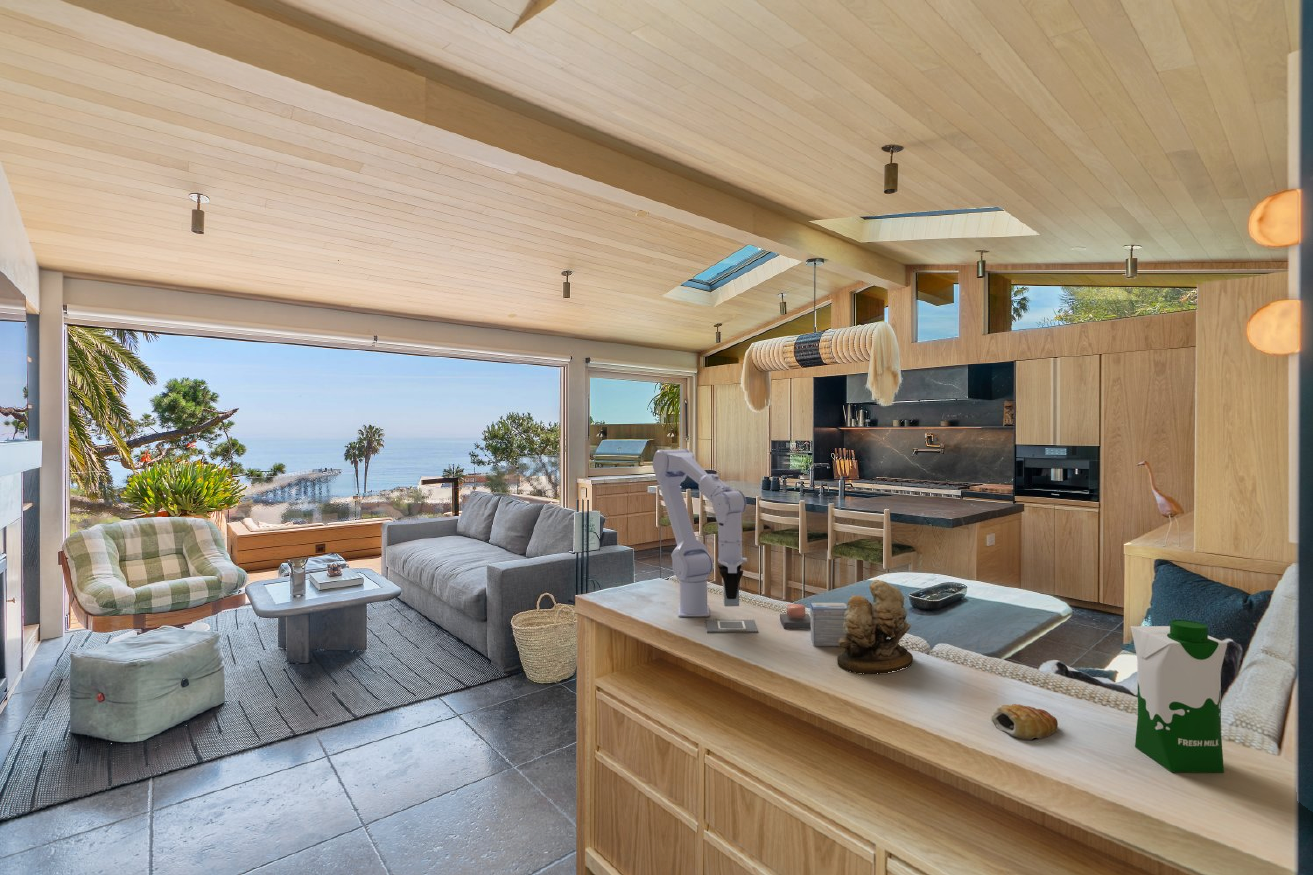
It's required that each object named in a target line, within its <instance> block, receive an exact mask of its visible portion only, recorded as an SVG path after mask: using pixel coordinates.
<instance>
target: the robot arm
mask: <svg viewBox="0 0 1313 875" xmlns="http://www.w3.org/2000/svg"><path fill="white" fill-rule="evenodd" d="M651 464H652V465H651V466H652V468H653V472H654V475H655V479H656V482H657V483H658V485H659V486H658V487H659V488H660V493H661V496H662V499H663V502H664V505H665V506H664V507H665V508H666V512H667V515H668V519H669V522H670V524H671V525H670V526H671V529H672V532H673V535H674V538H675V542H676V547H675V548H674V549H673V551H672V552H671V554H670V557H671V560H672V562H671V563H672V565H671V566H672V571H673V574H674V576H675V577H676V579H677V580H679V604H678V617H710V606H709V605H708V579H710V575H711V574H712V573H713V571H714V568H715V567H714V559H713V557H712V556H711V554H710V553H709V551H708V548H707V546H706V544H704V543H702V542H701V541H699V540H698V539H697V537H696V533H695V530H694V527H693V524H692V521H691V518H690V514H689V512H688V509H687V505H686V503H685V499H684V496H683V492H682V489H681V483H683V482H685V480H686V478H687V477H689V479H691V480H692V481H693V482H695V483H696V484H698V490H699V492H700V493H701V494H702V495H703V496H704V497H705V498H706V499H707V500H708V501H709V502H711V503H712V508H713V509H712V510H713V512H714V513H715V520H716V523H717V536H718V537H717V538H718V539H717V541H718V545H717V546H718V552H717V553H718V558H717V563H718V566H717V567H718V569H719V574H720V576H721V577H722V580H723V581H724V583H723V586H724V585H725V591H726V596H727V599H736V597H737V592H738V586H739V587H740V582H741V579H742V577H743V574H744V570H743V569H742V564H743V563H747V562H748V558H747V557H743V531H742V528H743V526H742V525H743V524H742V522H743V521H742V520H743V518H742V514H743V513H745V511H746V509H747V499H746V495H745V494H744V493H743V491H742V490H740V489H733V488H731V487H730V486H729V485H728V484H727V483H725V482H724V481H723V480H722V479H720V475H718V474H717V473H707V472H706V470H705V469H704V468H703V467H702V465H700V464H699V463H698V462H697V460H695V455H694V453H693V452H691V451H690V450H689V449H688V448H682V449H680V448H678V449H657V450H656V451H655V452H654V454H653V459H652V463H651Z"/></svg>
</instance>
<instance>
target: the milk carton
mask: <svg viewBox="0 0 1313 875" xmlns="http://www.w3.org/2000/svg"><path fill="white" fill-rule="evenodd" d="M1169 624H1170V625H1160V626H1159V625H1158V626H1157V625H1154V626H1152V625H1147V626H1146V625H1144V626H1141V625H1140V626H1138V625H1136V626H1135V625H1132V626H1131V625H1130V630H1131V635H1132V640H1133V644H1134V649H1135V654H1136V659H1137V662H1136V663H1137V664H1136V666H1137V667H1136V668H1137V670H1136V671H1137V672H1136V674H1137V676H1136V677H1137V722H1136V730H1135V731H1136V732H1135V743H1134V747H1135V748H1136V749H1137V750H1139V751H1140V752H1142V753H1143V754H1145V755H1146V756H1147V757H1149V758H1151V759H1152V760H1153V761H1155V762H1156V763H1157V764H1159V765H1160V766H1162V767H1164V768H1165V769H1166V770H1168V771H1169V772H1171V773H1195V774H1196V773H1203V774H1204V773H1207V774H1208V773H1210V774H1211V773H1212V774H1213V773H1214V774H1215V773H1219V774H1220V773H1221V774H1222V773H1225V770H1224V769H1225V768H1224V767H1225V765H1224V754H1223V741H1222V740H1223V739H1222V693H1221V690H1222V686H1221V684H1222V683H1221V682H1222V679H1221V676H1222V666H1223V663H1224V659H1225V655H1226V652H1227V648H1228V643H1227V642H1226V641H1223V640H1220V639H1218V638H1215V637H1213V636H1210V635H1209V630H1208V629H1209V627H1208V625H1207V624H1204V623H1202V622H1198V621H1193V620H1186V619H1173V620H1170V622H1169Z"/></svg>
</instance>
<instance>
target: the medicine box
mask: <svg viewBox="0 0 1313 875" xmlns="http://www.w3.org/2000/svg"><path fill="white" fill-rule="evenodd" d="M846 608H847V604H846V603H845V602H810V605H809V609H810V612H809V613H810V614H809V616H810V620H811V629H810V641H811V643H812V645H813V647H840V646H839V645H838V641H839V638H844V637H846V635H845V634H844V632H843V623H844V614H845V612H846V611H847V609H846Z"/></svg>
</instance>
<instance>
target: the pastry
mask: <svg viewBox="0 0 1313 875" xmlns="http://www.w3.org/2000/svg"><path fill="white" fill-rule="evenodd" d="M991 722H992V723H993V726H994V725H995V728H996V729H997V730H1000V731H1002V732H1003V733H1005V734H1006V733H1007V734H1008V735H1010V736H1011V737H1014V738H1016V739H1022V740H1026V741H1027V740H1029V741H1030V740H1031V741H1032V740H1033V739H1034V738H1036V739H1044V738H1046V737H1049V736H1052V735H1053V734H1055V733H1057V730H1058V728H1059V727H1058V726H1059V723H1058V719H1057V718H1056V717H1055V716H1054V715H1052V714H1051V713H1049V712H1048V711H1046V710H1045V709H1041V708H1035V707H1032V706H1028V705H1022V704H1016V703H1013V704H1010V705H1007V704H1003V705H1001V707H1000V706H999V707H997V708H996V710H995V711H994V712H993V714H992V715H991Z"/></svg>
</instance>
